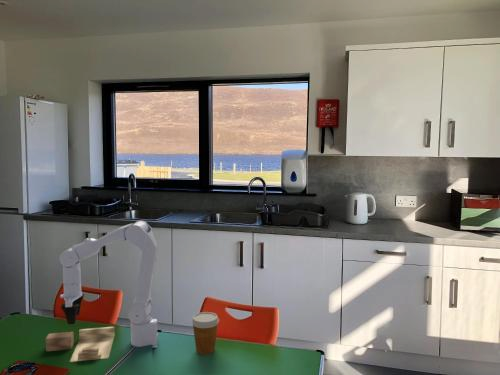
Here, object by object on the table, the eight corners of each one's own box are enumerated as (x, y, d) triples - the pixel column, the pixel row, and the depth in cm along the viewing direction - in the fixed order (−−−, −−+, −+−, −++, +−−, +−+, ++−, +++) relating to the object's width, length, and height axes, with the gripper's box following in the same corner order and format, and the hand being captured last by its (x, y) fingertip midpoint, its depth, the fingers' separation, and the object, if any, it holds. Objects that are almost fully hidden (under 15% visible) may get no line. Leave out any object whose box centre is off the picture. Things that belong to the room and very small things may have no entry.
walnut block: (73, 345, 141) (73, 331, 141) (71, 350, 137) (70, 336, 137) (49, 347, 140) (48, 333, 139) (46, 353, 136) (45, 338, 135)
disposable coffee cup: (186, 353, 137) (185, 319, 136) (201, 341, 145) (201, 309, 144) (209, 359, 132) (209, 324, 131) (224, 347, 141) (224, 314, 140)
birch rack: (114, 338, 148) (114, 326, 147) (108, 360, 131) (108, 347, 131) (79, 341, 145) (79, 329, 145) (69, 364, 129) (69, 351, 129)
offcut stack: (101, 355, 133) (101, 345, 133) (100, 358, 131) (100, 348, 131) (79, 357, 131) (78, 348, 131) (77, 360, 130) (77, 350, 129)
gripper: (64, 276, 147) (66, 312, 148) (54, 289, 133) (56, 329, 134) (85, 275, 148) (86, 310, 150) (77, 288, 134) (79, 327, 136)
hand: (73, 319), depth 142 cm, fingers open, 7 cm apart
